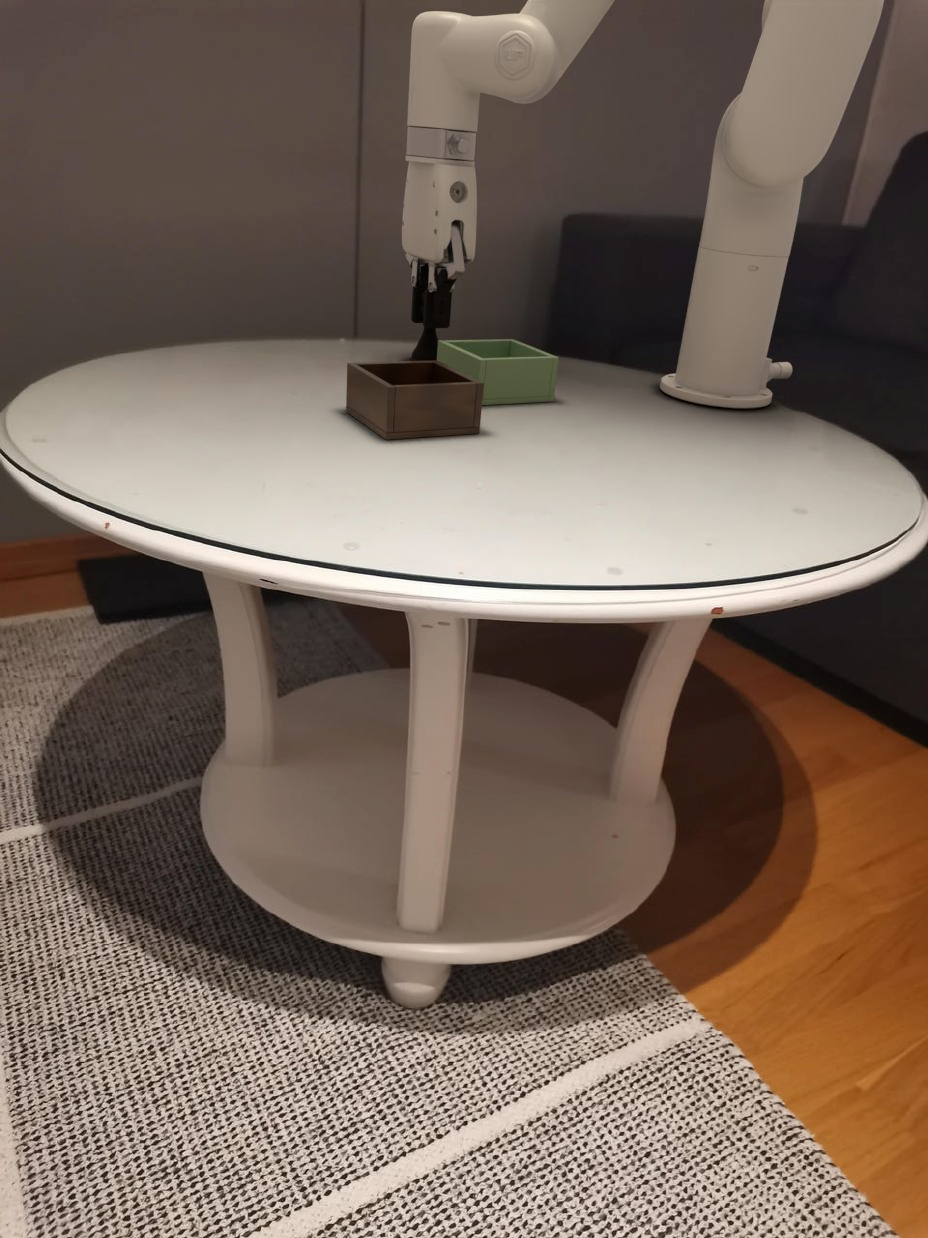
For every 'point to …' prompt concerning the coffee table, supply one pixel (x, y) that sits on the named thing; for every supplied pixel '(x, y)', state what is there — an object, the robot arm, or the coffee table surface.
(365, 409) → the dark bin
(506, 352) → the light bin
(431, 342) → the chess piece
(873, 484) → the coffee table surface
